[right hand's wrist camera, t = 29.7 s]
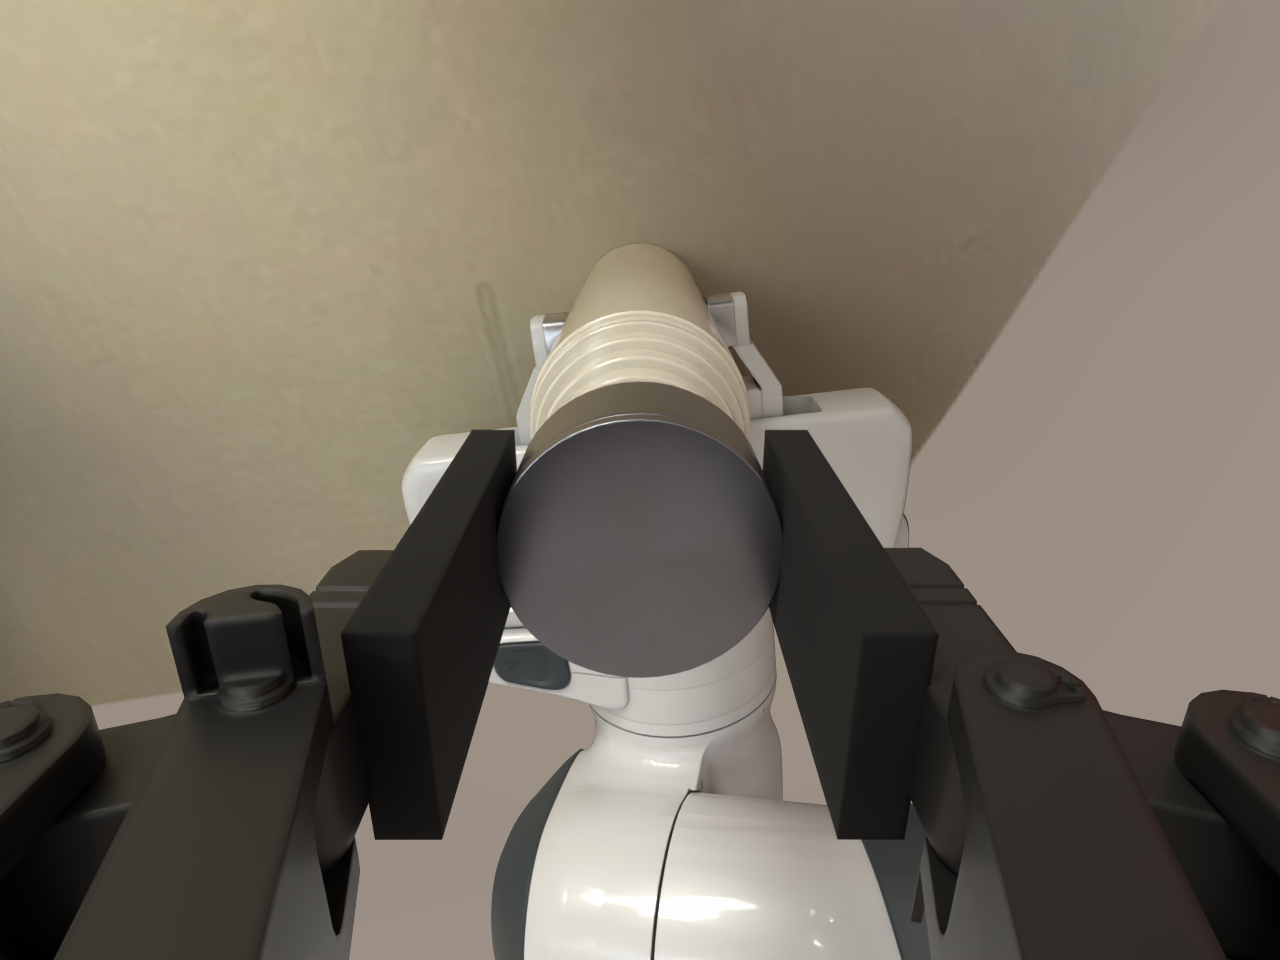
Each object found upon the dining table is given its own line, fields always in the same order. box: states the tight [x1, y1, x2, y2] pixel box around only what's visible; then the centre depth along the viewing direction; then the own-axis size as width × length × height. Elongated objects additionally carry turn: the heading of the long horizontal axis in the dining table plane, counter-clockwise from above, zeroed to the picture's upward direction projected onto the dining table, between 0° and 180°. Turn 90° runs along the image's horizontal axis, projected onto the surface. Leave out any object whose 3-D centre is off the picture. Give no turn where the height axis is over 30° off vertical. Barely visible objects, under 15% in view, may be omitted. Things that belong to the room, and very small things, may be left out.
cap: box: [496, 381, 783, 678], centre depth 13 cm, size 4×4×2 cm
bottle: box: [530, 243, 750, 440], centre depth 24 cm, size 5×5×24 cm
